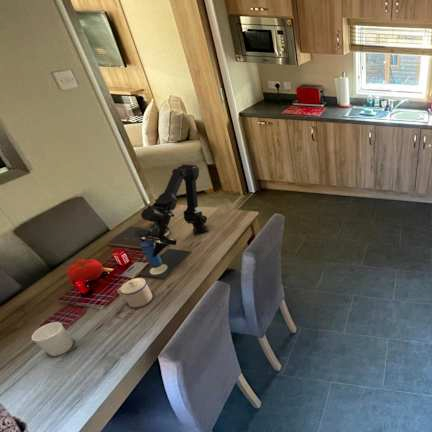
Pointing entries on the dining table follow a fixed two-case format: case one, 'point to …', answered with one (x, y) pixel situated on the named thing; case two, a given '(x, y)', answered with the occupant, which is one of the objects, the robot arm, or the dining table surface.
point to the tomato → (85, 270)
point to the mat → (166, 264)
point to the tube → (151, 254)
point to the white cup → (53, 338)
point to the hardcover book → (130, 238)
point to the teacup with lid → (136, 292)
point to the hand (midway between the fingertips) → (149, 255)
